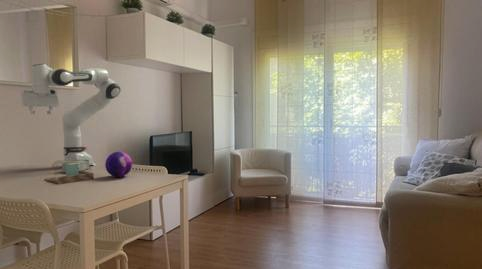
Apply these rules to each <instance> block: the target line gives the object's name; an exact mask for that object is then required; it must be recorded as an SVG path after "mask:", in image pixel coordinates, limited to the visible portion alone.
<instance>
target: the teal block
mask: <svg viewBox="0 0 482 269" xmlns="http://www.w3.org/2000/svg"><path fill="white" fill-rule="evenodd" d="M65 174H66V175H65V176H72V175H79V172H78V163H69V164H66V173H65Z"/></svg>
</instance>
